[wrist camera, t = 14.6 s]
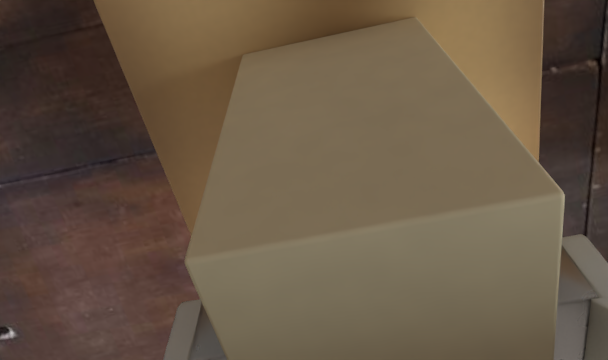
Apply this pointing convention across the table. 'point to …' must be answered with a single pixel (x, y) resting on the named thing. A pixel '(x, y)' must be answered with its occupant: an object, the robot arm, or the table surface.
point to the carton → (374, 211)
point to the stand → (292, 29)
